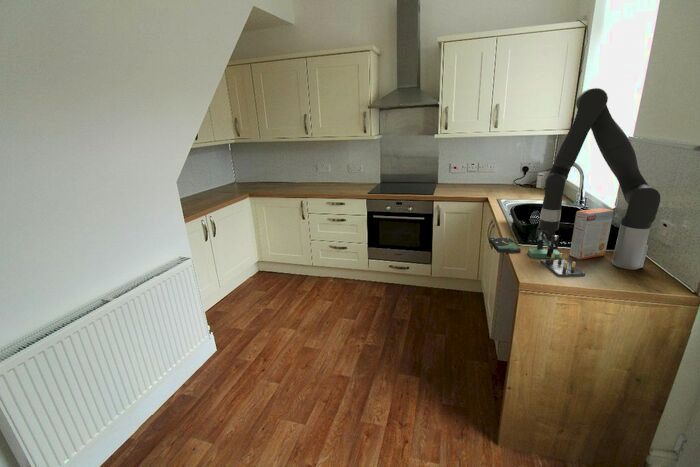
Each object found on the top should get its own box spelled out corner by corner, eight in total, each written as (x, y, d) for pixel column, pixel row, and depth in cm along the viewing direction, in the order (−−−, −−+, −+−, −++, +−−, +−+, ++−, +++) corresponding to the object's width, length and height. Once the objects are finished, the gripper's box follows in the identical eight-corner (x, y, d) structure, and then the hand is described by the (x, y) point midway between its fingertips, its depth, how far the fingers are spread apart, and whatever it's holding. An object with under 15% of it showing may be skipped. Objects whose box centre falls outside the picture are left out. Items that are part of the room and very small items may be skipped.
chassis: (564, 261, 145) (566, 250, 144) (584, 276, 132) (587, 264, 131) (540, 262, 146) (542, 251, 144) (558, 276, 133) (560, 264, 131)
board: (556, 255, 154) (557, 250, 153) (560, 259, 149) (561, 254, 148) (527, 253, 156) (528, 248, 155) (530, 258, 151) (531, 253, 150)
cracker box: (592, 251, 155) (601, 207, 148) (605, 256, 149) (615, 210, 143) (567, 255, 152) (576, 210, 145) (579, 260, 146) (588, 213, 140)
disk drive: (488, 243, 172) (497, 253, 158) (488, 237, 171) (498, 248, 157) (509, 242, 171) (520, 253, 157) (509, 237, 170) (521, 247, 156)
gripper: (568, 223, 140) (561, 259, 145) (550, 213, 153) (544, 247, 158) (549, 223, 140) (544, 259, 145) (533, 214, 154) (528, 247, 159)
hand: (544, 253), depth 152 cm, fingers open, 8 cm apart
